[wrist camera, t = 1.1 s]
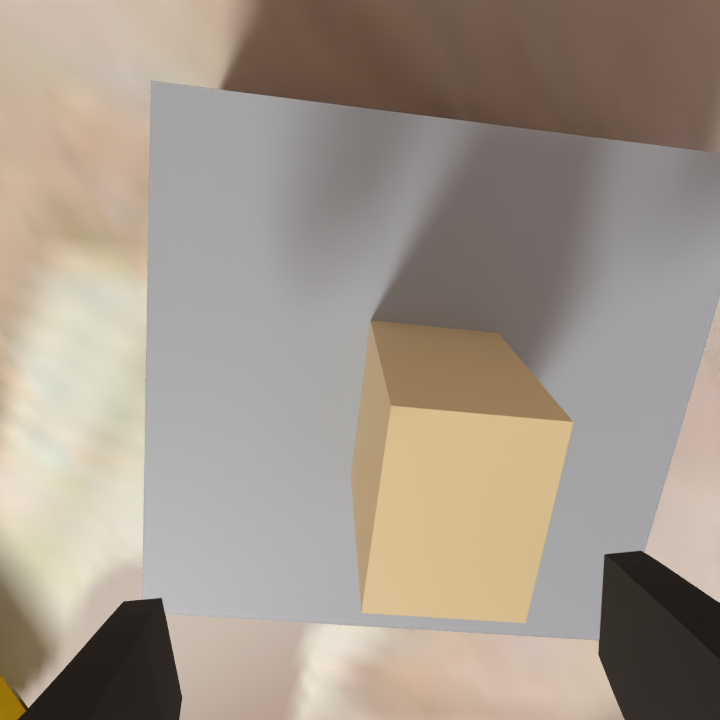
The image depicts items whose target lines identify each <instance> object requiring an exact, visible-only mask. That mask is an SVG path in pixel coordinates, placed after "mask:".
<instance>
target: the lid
mask: <svg viewBox="0 0 720 720" xmlns="http://www.w3.org/2000/svg"><path fill="white" fill-rule="evenodd" d="M719 296H720V153H715V152H707V151H700V150H692V149H684V148H676V147H668V146H660V145H652V144H644V143H637V142H629V141H621V140H613V139H605V138H597V137H589V136H582V135H574V134H566V133H558V132H550V131H542V130H534V129H526V128H519V127H511V126H503V125H495V124H487V123H479V122H471V121H463V120H456V119H448V118H440V117H432V116H424V115H416V114H408V113H401V112H393V111H385V110H377V109H369V108H361V107H353V106H345V105H338V104H330V103H322V102H314V101H306V100H298V99H290V98H283V97H275V96H267V95H259V94H251V93H243V92H235V91H227V90H220V89H212V88H204V87H196V86H188V85H180V84H172V83H165V82H157V81H151V112H150V170H149V229H148V288H147V347H146V406H145V465H144V523H143V582H142V584H143V585H142V600H145V599H155V598H162V601H163V606H164V611H165V614H172V615H189V616H206V617H223V618H238V619H239V618H240V619H255V620H272V621H289V622H304V623H320V624H337V625H353V626H370V627H386V628H403V629H419V630H436V631H452V632H469V633H485V634H502V635H518V636H535V637H551V638H567V639H584V640H599V637H600V620H601V603H602V586H603V569H604V554H612V553H622V552H632V551H642V552H644V551H645V547H646V544H647V541H648V537H649V534H650V530H651V527H652V524H653V520H654V517H655V513H656V510H657V507H658V503H659V500H660V496H661V493H662V490H663V486H664V483H665V479H666V476H667V473H668V469H669V466H670V462H671V459H672V456H673V452H674V449H675V446H676V442H677V439H678V435H679V432H680V429H681V425H682V422H683V418H684V415H685V412H686V408H687V405H688V401H689V398H690V395H691V391H692V388H693V384H694V381H695V378H696V374H697V371H698V367H699V364H700V361H701V357H702V354H703V350H704V347H705V344H706V340H707V337H708V334H709V330H710V327H711V323H712V320H713V317H714V313H715V310H716V306H717V303H718V300H719Z"/></svg>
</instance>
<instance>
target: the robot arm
mask: <svg viewBox="0 0 720 720" xmlns="http://www.w3.org/2000/svg"><path fill="white" fill-rule="evenodd" d="M599 657H600V660H601V662H602V665H603V667H604V670H605V673H606V675H607V678H608V680H609V683H610V685H611V688H612V690H613V693H614V695H615V698H616V700H617V702H618V705H619V707H620V710H621V712H622V714H623V717H624V718H625V720H720V603H719V602H717V601H716V600H714V599H713V598H711V597H710V596H708V595H707V594H705V593H704V592H703V591H701V590H700V589H698V588H697V587H695V586H694V585H692V584H691V583H689V582H688V581H686V580H685V579H683V578H682V577H680V576H679V575H678V574H676V573H675V572H673V571H672V570H670V569H669V568H667V567H666V566H664V565H663V564H661V563H660V562H658V561H657V560H655V559H654V558H652V557H650V556H649V555H647V554H646V553H644V552H642V551H632V552H622V553H612V554H604V569H603V586H602V603H601V620H600V637H599ZM181 701H182V695H181V690H180V685H179V680H178V675H177V671H176V666H175V660H174V656H173V651H172V646H171V641H170V636H169V631H168V627H167V621H166V616H165V611H164V606H163V601H162V598H155V599H145V600H135V601H125V602H123V603H122V604H121V605H120V606H119V607H118V608H117V610H116V611H115V612H114V613H113V614H112V615H111V616H110V617H109V618H108V619H107V621H106V622H105V623H104V624H103V625H102V626H101V628H100V629H99V630H98V631H97V632H96V633H95V634H94V635H93V637H92V638H91V639H90V640H89V641H88V642H87V644H86V645H85V646H84V647H83V648H82V649H81V650H80V652H79V653H78V654H77V655H76V656H75V657H74V658H73V660H72V661H71V662H70V663H69V664H68V665H67V666H66V668H65V669H64V670H63V671H62V672H61V673H60V674H59V675H58V676H57V677H56V679H55V680H54V681H53V682H52V683H51V684H50V685H49V687H47V688H46V690H45V691H44V692H43V693H42V694H41V695H40V696H39V697H38V698H37V699H36V701H35V702H34V703H33V704H32V705H31V706H30V707H29V708H28V709H27V710H26V711H25V712H24V713H23V714H22V715H21V716H20V718H19V719H18V720H179V717H180V709H181Z"/></svg>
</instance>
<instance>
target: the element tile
mask: <svg viewBox="0 0 720 720" xmlns="http://www.w3.org/2000/svg"><path fill="white" fill-rule="evenodd" d="M27 709H28V707H27V706H26V704H25V703H24V701H23V700H22V699H21V697H19V698H18V699H17V698H16V696H15V695H14V694H13V692H12V691H11V689H10V688H9V687H8V685H7V684H6V682H5V681H4V680H3V678H2V677H1V675H0V720H18V719H19V718H20V716H21V715H22V714H23V713H24V712H25V711H26V710H27Z"/></svg>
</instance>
